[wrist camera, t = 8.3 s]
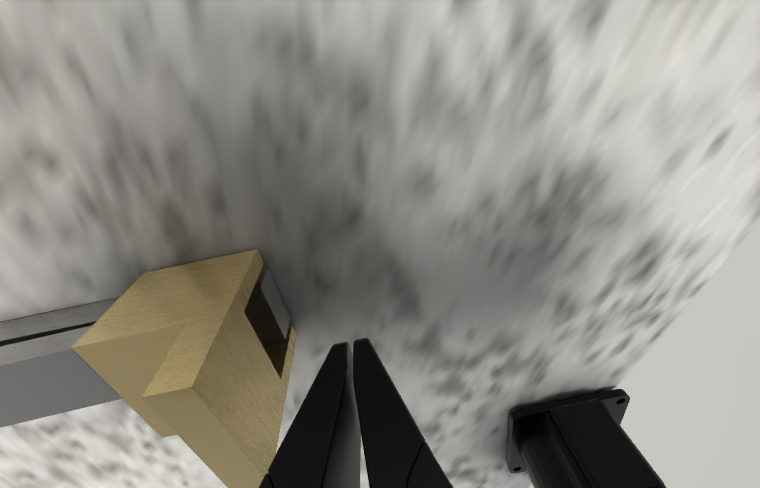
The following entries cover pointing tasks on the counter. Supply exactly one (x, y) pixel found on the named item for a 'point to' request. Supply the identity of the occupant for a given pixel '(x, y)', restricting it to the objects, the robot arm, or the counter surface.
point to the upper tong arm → (47, 379)
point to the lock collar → (198, 363)
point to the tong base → (260, 310)
